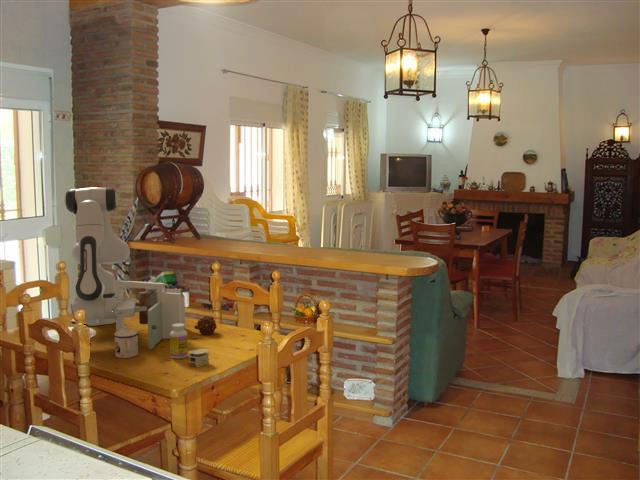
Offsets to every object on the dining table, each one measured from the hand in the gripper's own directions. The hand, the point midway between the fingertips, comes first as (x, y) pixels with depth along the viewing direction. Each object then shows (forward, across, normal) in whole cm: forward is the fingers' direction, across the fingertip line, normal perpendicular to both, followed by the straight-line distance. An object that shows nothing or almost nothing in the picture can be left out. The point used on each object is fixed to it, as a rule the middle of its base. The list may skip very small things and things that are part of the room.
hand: (147, 306), depth 263 cm
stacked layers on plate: (+20, -36, +16) cm, 44 cm away
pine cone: (+25, +6, +15) cm, 30 cm away
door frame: (0, +7, +15) cm, 17 cm away
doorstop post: (-1, 0, +7) cm, 7 cm away
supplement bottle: (+12, -25, +16) cm, 32 cm away
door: (+4, -6, +15) cm, 16 cm away
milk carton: (+11, +15, +15) cm, 24 cm away
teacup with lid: (-7, -19, +16) cm, 26 cm away
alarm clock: (+3, +41, +15) cm, 44 cm away
